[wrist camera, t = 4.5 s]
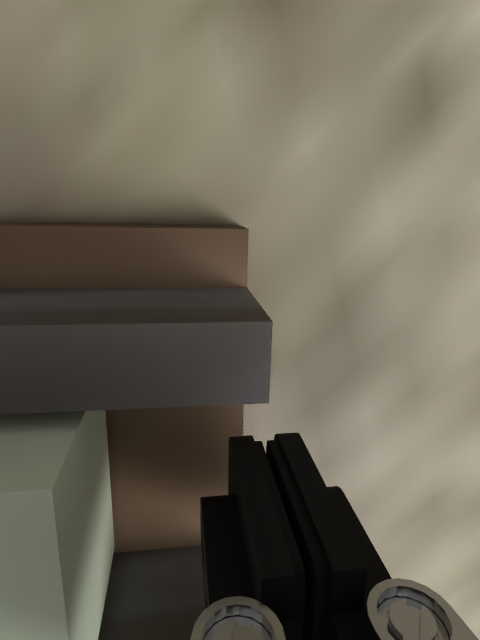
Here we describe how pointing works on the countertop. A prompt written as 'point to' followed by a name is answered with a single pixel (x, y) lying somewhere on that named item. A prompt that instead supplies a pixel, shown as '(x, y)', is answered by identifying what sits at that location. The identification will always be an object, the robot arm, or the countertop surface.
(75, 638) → the block
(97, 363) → the chute
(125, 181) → the countertop surface
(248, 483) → the robot arm
